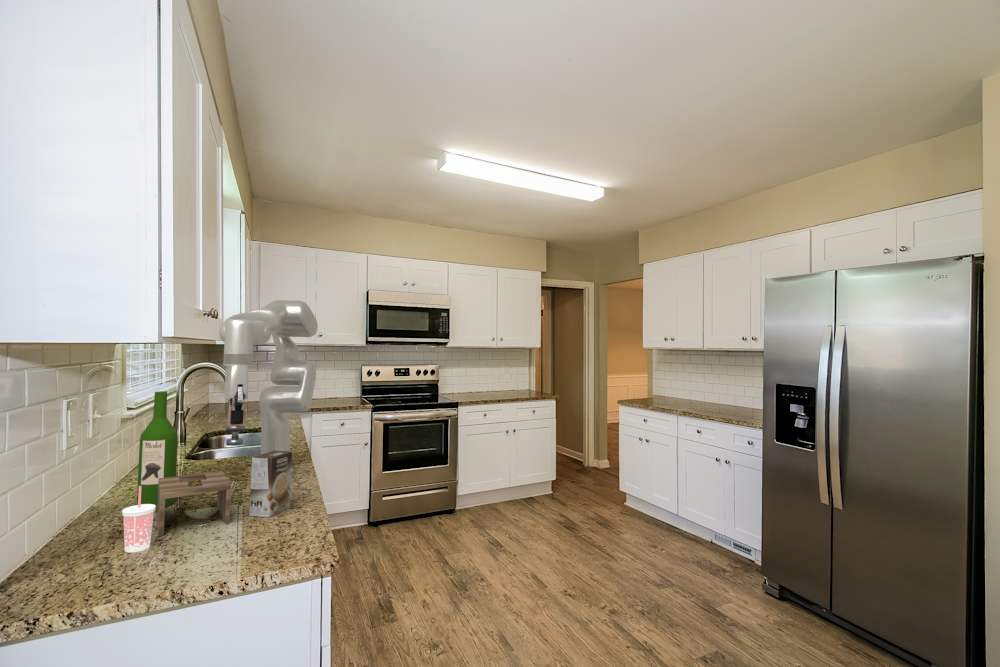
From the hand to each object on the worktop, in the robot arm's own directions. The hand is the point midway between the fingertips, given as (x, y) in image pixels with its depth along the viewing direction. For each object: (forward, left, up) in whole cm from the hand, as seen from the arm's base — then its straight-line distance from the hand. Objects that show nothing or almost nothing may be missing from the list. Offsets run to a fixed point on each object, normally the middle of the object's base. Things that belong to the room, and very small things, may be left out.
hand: (235, 422), depth 139 cm
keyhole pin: (0, 0, -6) cm, 6 cm away
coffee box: (+13, +8, -24) cm, 28 cm away
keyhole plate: (+8, -10, -24) cm, 27 cm away
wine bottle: (-11, -18, -24) cm, 32 cm away
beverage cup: (+22, -22, -24) cm, 39 cm away
